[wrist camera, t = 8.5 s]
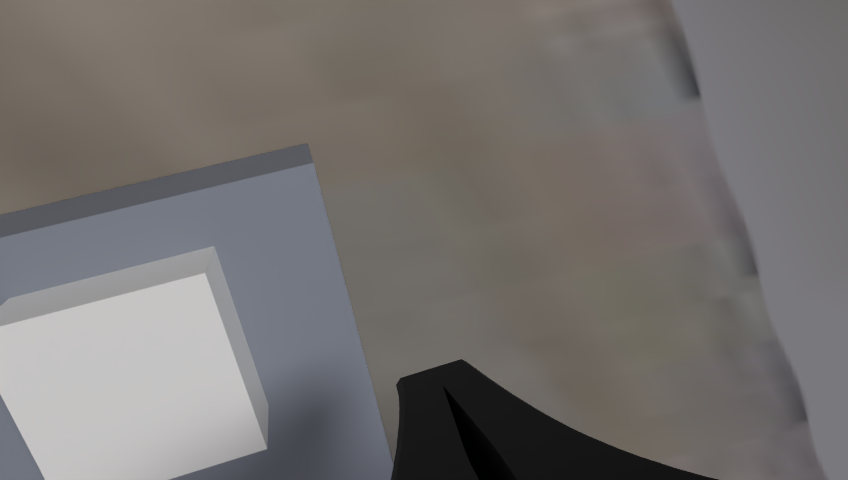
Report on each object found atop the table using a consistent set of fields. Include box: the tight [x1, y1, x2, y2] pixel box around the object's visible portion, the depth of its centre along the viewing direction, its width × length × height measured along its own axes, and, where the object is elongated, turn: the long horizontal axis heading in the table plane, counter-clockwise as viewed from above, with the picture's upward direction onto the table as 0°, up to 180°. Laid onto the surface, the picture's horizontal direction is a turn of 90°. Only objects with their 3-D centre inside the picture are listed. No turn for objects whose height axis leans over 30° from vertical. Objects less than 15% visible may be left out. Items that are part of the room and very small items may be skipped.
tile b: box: [0, 246, 269, 480], centre depth 15 cm, size 5×5×2 cm
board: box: [0, 144, 394, 480], centre depth 18 cm, size 15×13×4 cm
